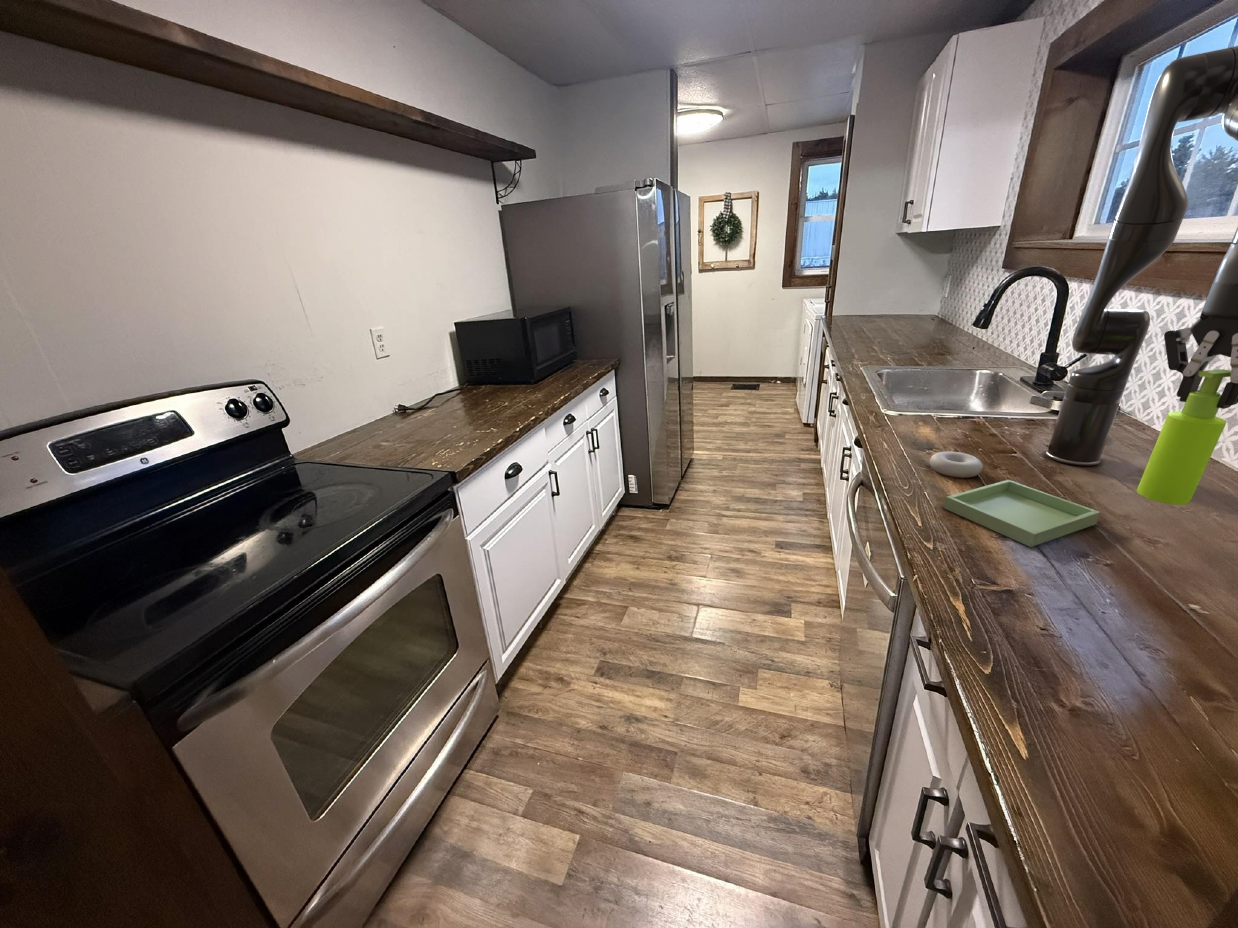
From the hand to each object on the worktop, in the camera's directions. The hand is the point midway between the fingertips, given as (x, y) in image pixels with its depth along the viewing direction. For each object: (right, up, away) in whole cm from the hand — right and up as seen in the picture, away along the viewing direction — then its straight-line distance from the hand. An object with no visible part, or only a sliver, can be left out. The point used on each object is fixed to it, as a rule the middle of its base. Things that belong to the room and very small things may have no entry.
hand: (1204, 403), depth 73 cm
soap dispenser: (+1, -14, +6) cm, 15 cm away
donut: (-10, -11, +39) cm, 42 cm away
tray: (-12, -19, +20) cm, 29 cm away
